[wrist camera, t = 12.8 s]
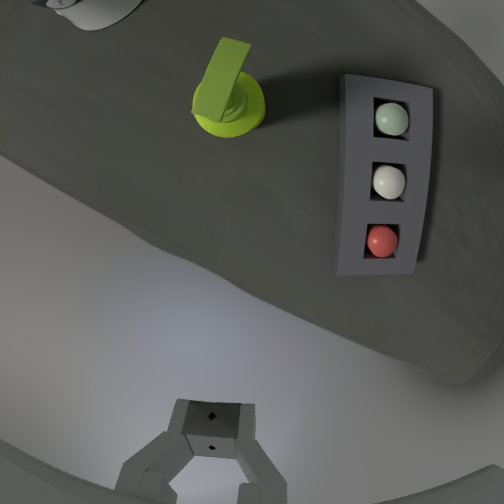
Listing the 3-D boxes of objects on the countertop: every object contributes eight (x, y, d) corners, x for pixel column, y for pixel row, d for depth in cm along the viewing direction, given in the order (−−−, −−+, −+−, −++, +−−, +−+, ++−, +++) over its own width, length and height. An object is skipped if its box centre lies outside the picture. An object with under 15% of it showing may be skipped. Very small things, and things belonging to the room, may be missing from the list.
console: (338, 77, 31) (344, 73, 28) (422, 89, 30) (432, 88, 28) (332, 265, 42) (336, 275, 39) (405, 264, 41) (413, 273, 39)
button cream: (369, 162, 35) (377, 166, 32) (396, 164, 35) (406, 168, 32) (367, 192, 37) (375, 198, 34) (394, 193, 36) (403, 199, 34)
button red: (365, 221, 38) (371, 228, 36) (391, 221, 38) (399, 229, 35) (362, 248, 40) (368, 257, 37) (387, 247, 40) (394, 257, 37)
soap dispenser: (275, 88, 32) (283, 53, 14) (255, 138, 35) (242, 157, 17) (230, 73, 32) (190, 27, 14) (211, 123, 35) (152, 128, 16)
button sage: (370, 102, 32) (379, 101, 29) (398, 105, 31) (408, 105, 29) (370, 132, 33) (378, 133, 30) (398, 135, 33) (408, 137, 30)
